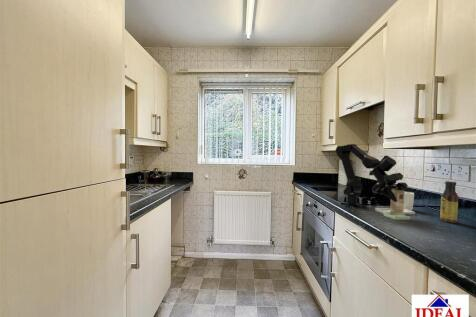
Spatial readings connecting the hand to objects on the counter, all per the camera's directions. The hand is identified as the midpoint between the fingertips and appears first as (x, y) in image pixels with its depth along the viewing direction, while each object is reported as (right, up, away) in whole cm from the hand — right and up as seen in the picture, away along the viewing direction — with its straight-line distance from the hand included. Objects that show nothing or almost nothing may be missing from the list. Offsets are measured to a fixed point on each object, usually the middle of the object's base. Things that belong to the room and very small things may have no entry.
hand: (399, 201), depth 119 cm
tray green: (-1, -9, +2) cm, 9 cm away
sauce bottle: (+22, -10, -3) cm, 24 cm away
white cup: (+17, -9, +21) cm, 28 cm away
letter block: (-1, -7, +2) cm, 7 cm away
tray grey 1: (+1, -8, +12) cm, 14 cm away
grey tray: (+10, -9, +12) cm, 18 cm away
